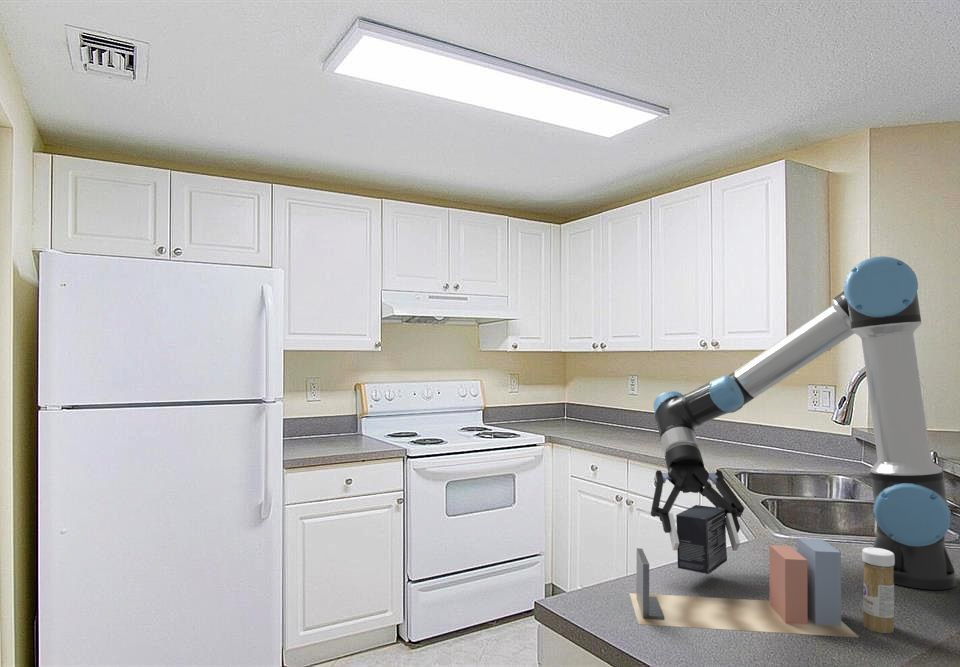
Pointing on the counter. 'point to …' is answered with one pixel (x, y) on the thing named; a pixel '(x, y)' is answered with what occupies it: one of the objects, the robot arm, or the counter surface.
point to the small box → (701, 538)
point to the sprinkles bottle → (878, 589)
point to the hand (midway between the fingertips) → (706, 546)
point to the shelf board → (730, 616)
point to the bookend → (646, 590)
